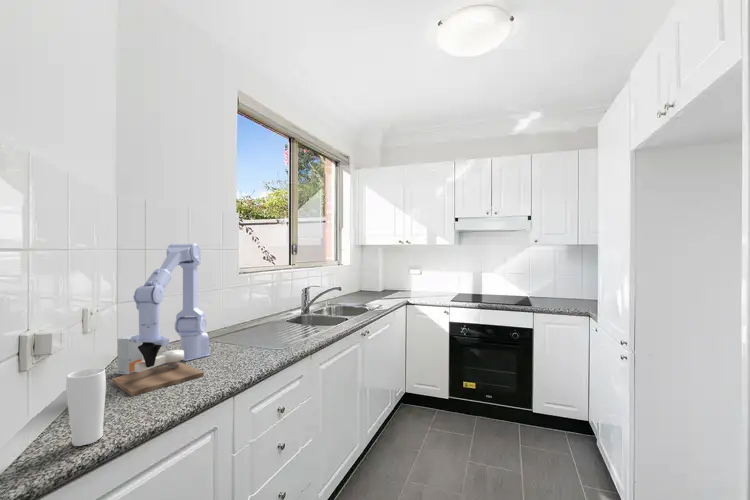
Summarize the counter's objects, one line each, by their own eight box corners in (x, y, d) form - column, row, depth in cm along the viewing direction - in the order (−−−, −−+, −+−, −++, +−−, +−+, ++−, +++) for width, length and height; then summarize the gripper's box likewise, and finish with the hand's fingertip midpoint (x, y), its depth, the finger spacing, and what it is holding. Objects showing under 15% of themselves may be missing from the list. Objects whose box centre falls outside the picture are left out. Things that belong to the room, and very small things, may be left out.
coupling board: (180, 365, 131) (180, 355, 131) (203, 375, 120) (203, 365, 120) (112, 382, 116) (111, 371, 116) (131, 396, 104) (131, 383, 104)
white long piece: (173, 355, 130) (173, 348, 130) (188, 357, 128) (188, 350, 128) (128, 370, 115) (128, 362, 114) (145, 372, 112) (145, 364, 112)
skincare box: (128, 375, 122) (127, 339, 122) (117, 374, 123) (116, 338, 123) (143, 369, 128) (142, 334, 128) (132, 368, 129) (131, 334, 129)
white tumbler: (82, 434, 83) (80, 368, 82) (114, 432, 83) (112, 366, 83) (59, 451, 76) (57, 378, 76) (93, 448, 76) (92, 377, 76)
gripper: (121, 324, 115) (122, 368, 115) (153, 327, 109) (154, 372, 109) (142, 320, 121) (143, 361, 121) (174, 322, 116) (175, 365, 116)
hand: (150, 366), depth 116 cm, fingers closed
